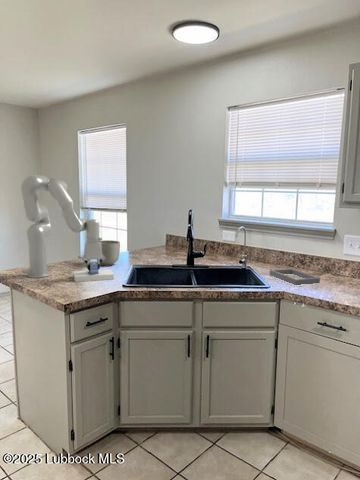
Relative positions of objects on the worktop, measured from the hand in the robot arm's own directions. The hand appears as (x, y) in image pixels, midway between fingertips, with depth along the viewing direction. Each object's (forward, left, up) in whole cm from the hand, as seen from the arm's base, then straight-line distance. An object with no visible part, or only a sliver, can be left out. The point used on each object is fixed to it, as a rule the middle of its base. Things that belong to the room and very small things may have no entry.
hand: (93, 270), depth 218 cm
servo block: (0, 0, -3) cm, 3 cm away
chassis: (0, 0, -5) cm, 5 cm away
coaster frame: (+117, -36, -5) cm, 123 cm away
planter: (+14, +35, -5) cm, 38 cm away
